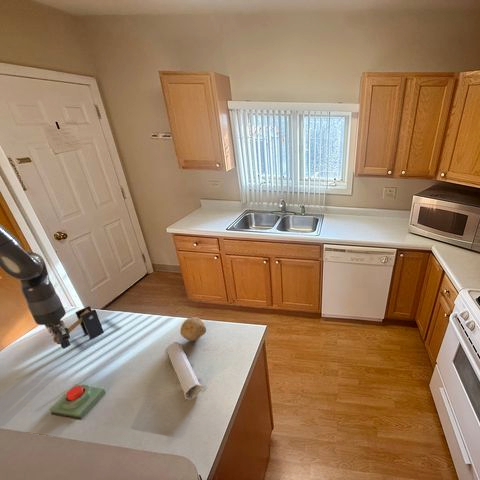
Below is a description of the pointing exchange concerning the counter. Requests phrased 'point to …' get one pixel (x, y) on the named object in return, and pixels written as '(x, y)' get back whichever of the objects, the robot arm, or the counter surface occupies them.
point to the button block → (78, 402)
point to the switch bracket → (90, 322)
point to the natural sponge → (192, 329)
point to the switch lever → (72, 326)
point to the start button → (75, 393)
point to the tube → (184, 371)
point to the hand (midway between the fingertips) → (64, 344)
